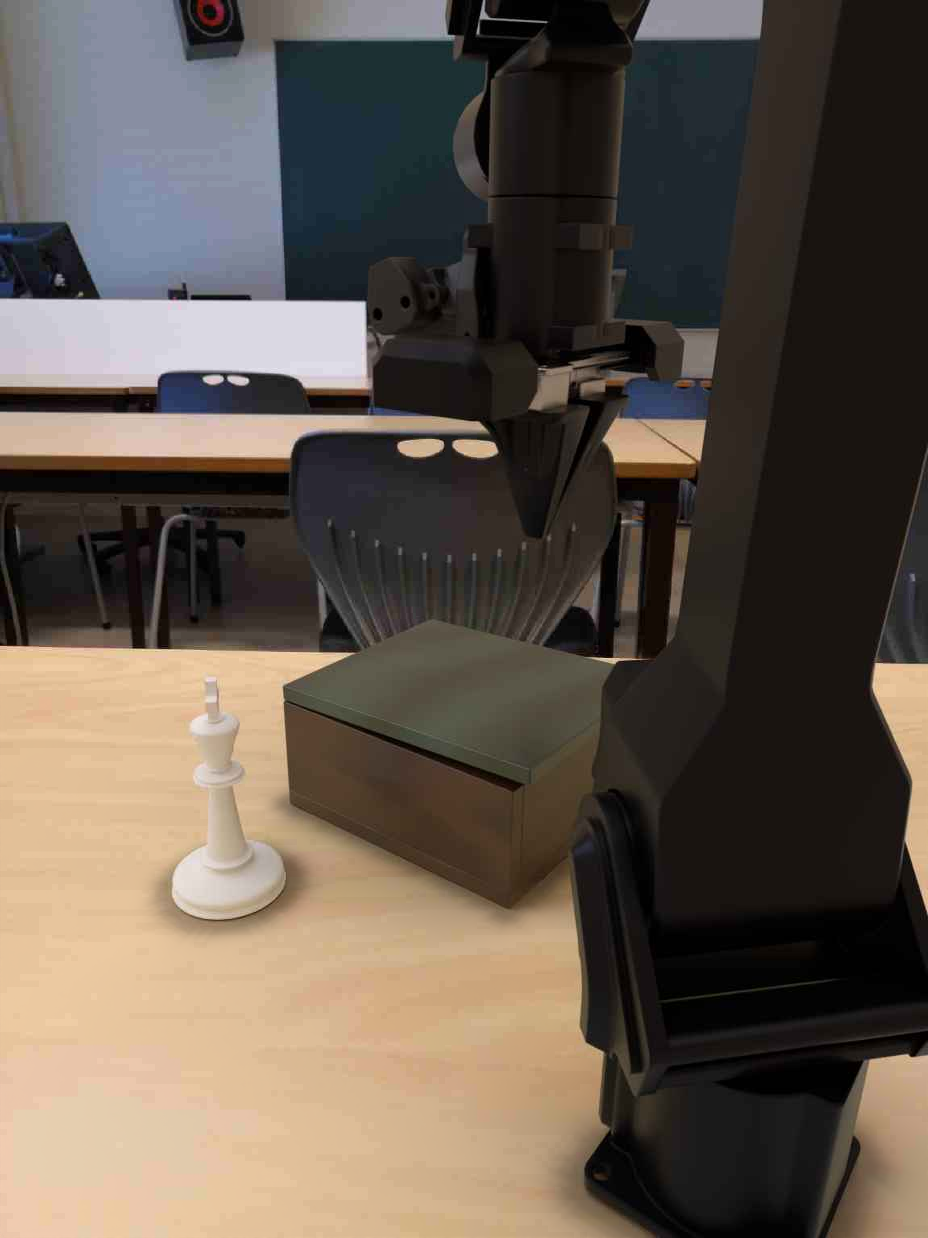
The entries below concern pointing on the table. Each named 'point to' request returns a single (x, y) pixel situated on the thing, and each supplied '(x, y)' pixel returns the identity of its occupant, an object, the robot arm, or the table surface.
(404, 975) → the table surface
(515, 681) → the box lid
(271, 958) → the table surface
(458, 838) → the wooden box
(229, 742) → the chess piece
